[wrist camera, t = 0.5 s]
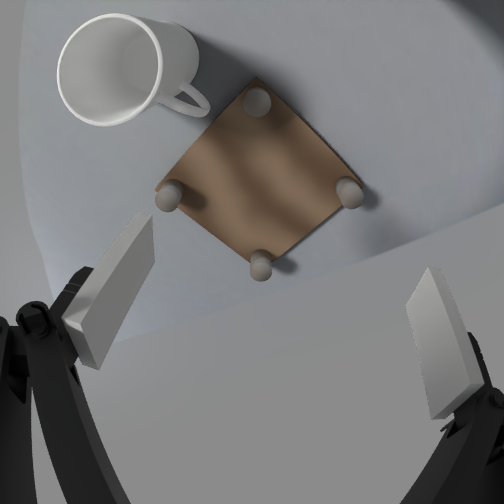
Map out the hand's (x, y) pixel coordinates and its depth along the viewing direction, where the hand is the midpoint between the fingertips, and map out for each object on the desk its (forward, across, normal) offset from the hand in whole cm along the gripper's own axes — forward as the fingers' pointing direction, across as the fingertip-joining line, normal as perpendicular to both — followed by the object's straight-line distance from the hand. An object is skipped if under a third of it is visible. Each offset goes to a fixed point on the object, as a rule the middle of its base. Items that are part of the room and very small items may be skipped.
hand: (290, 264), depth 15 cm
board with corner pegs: (+20, -3, -6) cm, 21 cm away
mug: (+20, -13, +6) cm, 25 cm away
